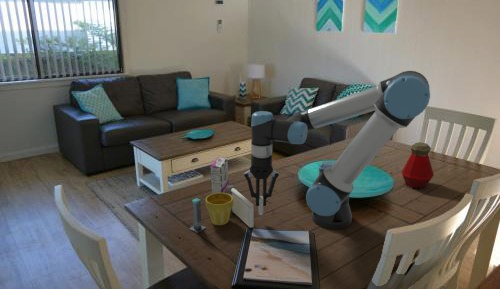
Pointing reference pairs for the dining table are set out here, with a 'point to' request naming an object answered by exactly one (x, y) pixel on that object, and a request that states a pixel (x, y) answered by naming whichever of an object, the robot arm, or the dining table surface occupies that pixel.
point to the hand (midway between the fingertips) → (260, 213)
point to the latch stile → (197, 216)
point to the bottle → (418, 166)
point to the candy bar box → (219, 176)
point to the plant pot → (219, 207)
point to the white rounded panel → (242, 207)
